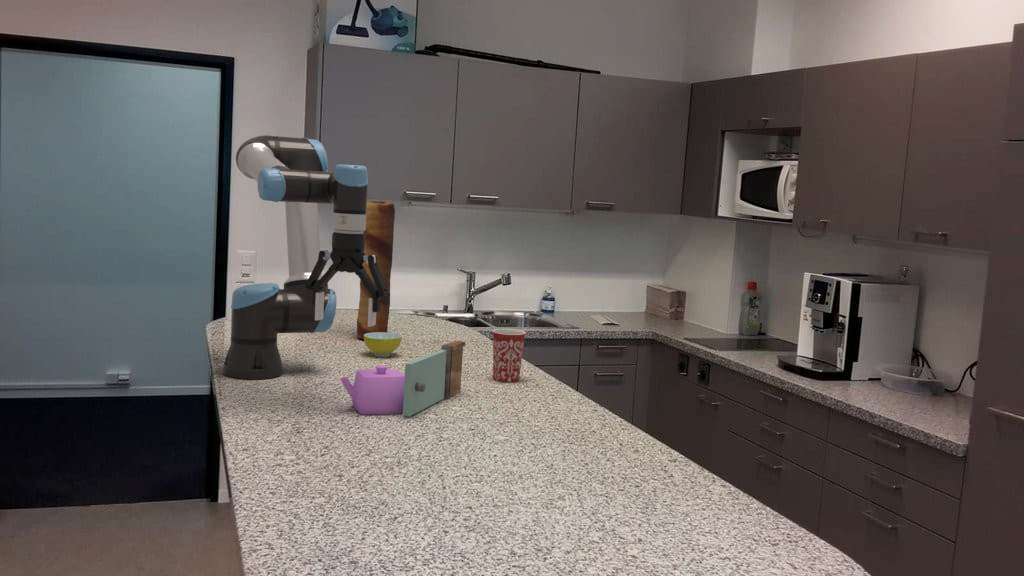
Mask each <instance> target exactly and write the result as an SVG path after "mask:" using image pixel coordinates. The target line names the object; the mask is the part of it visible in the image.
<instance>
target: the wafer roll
mask: <svg viewBox="0 0 1024 576" xmlns="http://www.w3.org/2000/svg"><path fill="white" fill-rule="evenodd" d="M395 217H396V208H395V203H394V202H393V201H381V200H379V201H378V200H377V201H375V200H374V201H373V200H370V201H367V204H366V230H365V231H363V234H364V235H365V248H364V254H365V256H369V255H376V256H377V264H378V267H379V269H380V272H381V274H382V277H383V280H384V282H385V285H386V287H387V290H388V292H389V293H388V295H386V296H383V297H381V298H380V310H379V312H376V325H374V326H371V327H369V326H368V306H369V298H371V297H372V296H371V294H370V293H369V291H368V290H367V288H366V287H365V286H364V284H363V283H362V281H361V280H360V279H359V280H360V281H359V302H358V311H357V319H356V338H357V339H359V340H364V334H366V333H374V332H385V333H388V324H389V318H390V317H389V316H390V307H391V276H392V274H391V273H392V267H393V254H394V253H393V250H394V237H395V236H394V231H395ZM362 265H363V266H364V268H365V269H366V272H367V274H368V275H369V277H370V278H371V280H372V281H373V283H374V284H375V282H374V279H373V277H372V274H371V272H370V269H369V266H368V264H367V263H366V261H364V263H363V264H362ZM375 286H376V284H375Z"/></svg>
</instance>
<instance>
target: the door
mask: <svg viewBox="0 0 1024 576" xmlns="http://www.w3.org/2000/svg"><path fill="white" fill-rule="evenodd" d="M404 365H405V366H404V374H405V381H404V402H403V413H402V417H412V416H414V415H415V414H417V413H419V412H421V411H424V410H426V409H427V408H428V407H431V406H432V405H435V404H436V403H439V402H440V401H443V400H445V399H444V387H445V369H446V350H441V349H438V350H437V351H434V352H432V353H429V354H426V355H424V356H421V357H418V358H417V359H413V360H411V361H408V362H406V363H405V364H404Z"/></svg>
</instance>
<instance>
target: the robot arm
mask: <svg viewBox="0 0 1024 576" xmlns="http://www.w3.org/2000/svg"><path fill="white" fill-rule="evenodd" d="M235 163H236V167H237V169H238V170H239V172H240V173H241V174H243V175H244V176H245V177H246V178H247V179H252V180H255V181H256V182H257V192H258V197H259V198H260V199H261V200H262V201H268V202H274V203H277V202H281V203H282V202H284V206H285V225H286V227H285V228H286V244H287V261H288V262H287V263H288V264H287V265H288V278H287V279H286V280H285V281H284V282H283V288H280V286H279V284H277V283H272V282H269V283H261V282H260V283H254V284H246V285H242V286H240V287H239V286H238V287H237V288H235V289H234V291H233V292H232V297H231V305H230V309H231V319H230V321H231V324H230V346H229V348H228V351H227V353H226V357H225V358H224V361H223V365H222V374H223V375H224V376H226V377H230V378H234V379H242V380H243V379H244V380H262V379H264V380H265V379H273V378H276V377H280V376H282V375H283V373H284V365H283V362H282V358H281V354H280V350H279V347H278V334H304V333H305V334H315V333H324V332H327V331H328V330H330V328H331V327H332V325H333V323H334V320H335V317H336V311H337V295H336V291H335V290H334V289H332V288H329V281H331V280H332V279H333V277H334V276H335V275H336V274H337V273H338V272H339V273H344V272H346V273H350V274H351V273H353V274H355V275H356V276H357V277H358V278H359V280H361V281H362V283H363V284H364V286H365V287H366V288H367V290H368V291H369V293H370V294H371V296H372V297H371V298H369V306H368V326H369V327H371V326H374V325H376V312H379V310H380V298H381V297H383V296H386V295H388V293H389V292H388V290H387V287H386V285H385V282H384V280H383V277H382V274H381V272H380V269H379V267H378V264H377V256H376V255H369V256H365V254H364V248H365V235H364V234H363V231H365V230H366V204H367V203H368V201H367V200H368V186H369V185H368V184H369V180H368V179H369V177H368V169H367V167H366V166H365V165H357V164H354V165H353V164H340V163H338V164H336V166H335V168H334V171H329V161H328V154H327V152H326V149H325V147H324V145H323V144H322V142H321V141H320V140H318V139H313V138H307V137H292V136H290V137H289V136H279V135H278V136H277V135H276V136H275V135H269V134H268V135H267V134H265V135H258V136H255V137H251V138H249V139H247V140H246V141H244V142H243V143H241V145H240V146H239V147H238V149H237V151H236V154H235ZM318 204H328V205H329V204H331V205H333V207H332V208H333V209H332V229H333V230H334V232H333V233H331V249H332V250H331V252H330V251H329V250H327V249H326V250H321V244H320V243H321V242H320V228H319V227H320V226H319V225H320V224H319V211H318ZM329 260H331V261H332V264H330V266H329V267H328V268H327V271H326V272H325V273H324V274H323V275H322V273H323V270H324V269H325V267H326V265H327V263H328V261H329ZM364 261H366V263H367V264H368V266H369V269H370V272H371V274H372V277H373V279H374V282H375V284H376V286H375V284H374V283H373V281H372V280H371V278H370V277H369V275H368V274H367V272H366V269H365V268H364V266H363V265H362V264H363V263H364Z"/></svg>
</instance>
